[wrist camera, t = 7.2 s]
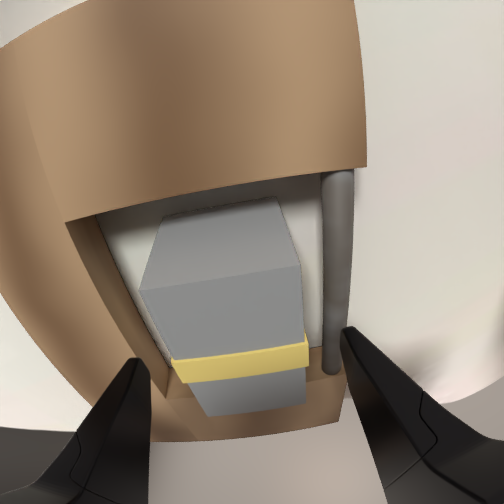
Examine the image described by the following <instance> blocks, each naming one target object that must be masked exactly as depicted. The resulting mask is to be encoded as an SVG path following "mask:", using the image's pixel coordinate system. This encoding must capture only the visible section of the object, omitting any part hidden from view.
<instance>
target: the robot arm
mask: <svg viewBox="0 0 504 504" xmlns="http://www.w3.org/2000/svg"><path fill="white" fill-rule="evenodd" d="M339 346H340V352H341V356H342V360H343V364H344V369H345V373H346V377H347V382H348V386H349V390H350V393H351V396H352V398H353V401H354V404H355V406H356V409H357V412H358V415H359V418H360V421H361V424H362V426H363V429H364V432H365V435H366V438H367V441H368V444H369V446H370V449H371V452H372V456H373V458H374V462H375V464H376V468H377V470H378V474H379V477H380V480H381V483H382V486H383V489H384V492H385V496H386V499H387V502H388V504H504V441H502V440H495V439H491V438H488V437H486V436H483V435H482V434H480V433H478V432H477V431H475V430H474V429H472V428H471V427H470V426H468V425H467V424H465V423H464V422H462V421H461V420H460V419H458V418H457V417H456V416H454V415H453V414H451V413H450V412H449V411H447V410H446V409H445V408H444V407H442V406H441V405H440V404H439V403H438V402H436V401H435V400H434V399H433V398H432V397H431V396H430V395H429V394H427V393H426V392H425V391H423V389H422V388H421V387H420V386H419V385H418V384H417V383H415V382H414V381H413V380H412V379H411V378H410V377H409V376H408V375H407V374H406V373H405V372H403V371H402V370H401V369H400V368H399V367H398V366H397V365H396V364H395V363H394V362H393V361H391V360H390V359H389V358H388V357H387V356H386V355H385V354H384V353H383V352H382V351H380V350H379V349H378V348H377V347H376V346H375V345H374V344H373V343H372V342H371V341H369V340H368V339H367V338H366V337H365V336H364V335H363V334H362V333H361V332H359V331H358V330H357V329H356V328H355V327H353V326H350V327H345V328H342V329H341V333H340V343H339ZM151 419H152V405H151V375H150V371H149V369H148V368H147V366H146V365H145V363H144V362H143V360H142V359H141V358H140V357H132V358H129V359H128V360H127V361H126V362H125V364H124V365H123V366H122V368H121V369H120V370H119V372H118V373H117V375H116V376H115V377H114V379H113V380H112V381H111V383H110V384H109V386H108V387H107V388H106V390H105V391H104V392H103V394H102V395H101V397H100V398H99V399H98V401H97V402H96V404H95V405H94V406H93V408H92V409H91V411H90V412H89V413H88V415H87V416H86V418H85V419H84V420H83V422H82V423H81V425H80V426H79V428H78V429H77V432H75V433H74V435H73V436H72V438H71V439H70V440H69V442H68V443H67V444H66V446H65V447H64V449H63V450H62V451H61V452H60V453H59V455H58V456H57V457H56V458H55V460H54V461H53V462H52V463H51V464H50V465H49V467H48V468H47V469H46V470H45V471H44V473H43V474H42V475H41V476H40V477H39V478H38V479H37V480H36V481H35V482H33V483H32V484H30V485H28V486H26V487H23V488H20V489H17V490H13V491H10V492H7V493H4V494H0V504H148V482H149V452H150V435H151Z"/></svg>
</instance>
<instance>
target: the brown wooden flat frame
mask: <svg viewBox="0 0 504 504" xmlns="http://www.w3.org/2000/svg"><path fill="white" fill-rule="evenodd" d="M363 167H367V142H366V112H365V95H364V81H363V69H362V58H361V49H360V41H359V33H358V25H357V18H356V12H355V5H354V0H87V1H85V2H83V3H81V4H78V5H76V6H74V7H72V8H70V9H68V10H66V11H64V12H62V13H60V14H58V15H56V16H54V17H52V18H50V19H48V20H46V21H44V22H42V23H41V24H39V25H37V26H35V27H34V28H32V29H30V30H29V31H27V32H25V33H24V34H22V35H20V36H19V37H17V38H16V39H14V40H13V41H11V42H9V43H8V44H6V45H5V46H4V47H2V48H1V49H0V293H1V295H2V296H3V298H4V299H5V301H6V302H7V304H8V305H9V307H10V308H11V310H12V311H13V313H14V314H15V316H16V317H17V319H18V320H19V321H20V323H21V324H22V326H23V327H24V328H25V330H26V331H27V332H28V334H29V335H30V336H31V338H32V339H33V340H34V342H35V343H36V344H37V345H38V347H39V348H40V349H41V351H42V352H43V353H44V354H45V355H46V357H47V358H48V359H49V360H50V361H51V363H52V364H53V365H54V366H55V367H56V368H57V370H58V371H59V372H60V373H61V374H62V375H63V376H64V378H65V379H66V380H67V381H68V382H69V383H70V384H71V385H72V386H73V387H74V388H75V389H76V390H77V392H78V393H79V394H80V395H81V396H82V397H83V398H84V399H85V400H86V401H87V402H88V403H89V404H90V405H91V406H92V407H93V406H94V405H95V404H96V402H97V401H98V399H99V398H100V397H101V395H102V394H103V392H104V391H105V390H106V388H107V387H108V386H109V384H110V383H111V381H112V380H113V379H114V377H115V376H116V375H117V373H118V372H119V370H120V369H121V368H122V366H123V365H124V364H125V362H126V361H127V360H128V359H129V358H132V357H140V358H141V359H142V360H143V362H144V363H145V365H146V366H147V368H148V369H149V371H150V375H151V405H152V419H151V435H150V442H191V441H210V440H211V441H212V440H225V439H236V438H245V437H255V436H262V435H269V434H277V433H283V432H289V431H295V430H300V429H306V428H311V427H316V426H321V425H325V424H330V423H334V422H338V421H339V417H340V412H341V407H342V402H343V398H344V393H345V388H346V383H347V377H346V373H345V369H344V364H343V360H342V356H341V352H340V346H339V343H340V333H341V329H342V328H345V327H347V317H348V306H349V295H350V282H351V267H352V249H353V221H354V168H363ZM318 172H320V174H321V194H322V219H323V339H322V346H320V347H315V348H310V349H309V366H307V367H305V372H306V404H300V405H295V406H289V407H284V408H277V409H271V410H264V411H257V412H250V413H241V414H232V415H223V416H211V417H208V416H207V415H206V413H205V412H204V410H203V408H202V407H201V405H200V404H199V402H198V400H197V399H196V397H195V395H194V394H193V392H192V390H191V389H190V387H189V385H188V384H187V383H182V381H181V380H180V378H179V376H178V374H177V373H176V371H175V369H174V368H169V367H168V365H167V364H166V362H165V360H164V359H163V357H162V355H161V353H160V352H159V350H158V348H157V346H156V344H155V343H154V341H153V339H152V337H151V335H150V334H149V332H148V330H147V328H146V326H145V324H144V322H143V320H142V318H141V317H140V315H139V313H138V311H137V309H136V307H135V305H134V303H133V301H132V299H131V297H130V295H129V293H128V291H127V288H126V286H125V284H124V282H123V280H122V278H121V276H120V274H119V271H118V269H117V267H116V265H115V263H114V260H113V258H112V256H111V254H110V251H109V249H108V247H107V244H106V242H105V240H104V237H103V235H102V232H101V230H100V227H99V225H98V222H97V220H96V217H95V215H94V214H98V213H102V212H106V211H110V210H115V209H119V208H123V207H127V206H132V205H136V204H140V203H145V202H149V201H154V200H159V199H163V198H168V197H173V196H178V195H183V194H188V193H193V192H198V191H203V190H209V189H214V188H220V187H225V186H231V185H237V184H243V183H249V182H255V181H261V180H268V179H275V178H281V177H288V176H295V175H303V174H310V173H318Z"/></svg>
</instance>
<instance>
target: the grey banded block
mask: <svg viewBox="0 0 504 504" xmlns="http://www.w3.org/2000/svg"><path fill="white" fill-rule="evenodd" d="M139 292H140V294H141V297H142V299H143V301H144V303H145V305H146V307H147V309H148V311H149V313H150V315H151V317H152V319H153V321H154V323H155V325H156V327H157V329H158V331H159V333H160V335H161V337H162V339H163V341H164V342H165V344H166V346H167V348H168V350H169V352H170V354H171V355H172V358H171V364H172V366H173V368H174V369H175V371H176V373H177V374H178V376H179V378H180V380H181V381H182V383H187V384H188V385H189V387H190V389H191V390H192V392H193V394H194V395H195V397H196V399H197V400H198V402H199V404H200V405H201V407H202V408H203V410H204V412H205V413H206V415H207V416H208V417H211V416H223V415H232V414H241V413H250V412H257V411H264V410H271V409H277V408H284V407H289V406H295V405H300V404H306V372H305V367H307V366H309V344H308V340H307V336H306V333H305V329H304V317H303V297H302V280H301V264H300V262H299V259H298V256H297V253H296V250H295V248H294V245H293V242H292V239H291V236H290V234H289V231H288V228H287V225H286V223H285V220H284V217H283V214H282V212H281V209H280V206H279V204H278V201H277V198H276V197H270V198H264V199H258V200H252V201H246V202H240V203H234V204H228V205H223V206H217V207H212V208H206V209H201V210H195V211H190V212H185V213H180V214H175V215H170V216H165V217H163V218H162V221H161V224H160V227H159V230H158V232H157V235H156V238H155V241H154V244H153V247H152V250H151V253H150V256H149V259H148V262H147V265H146V269H145V272H144V275H143V278H142V281H141V285H140V288H139Z"/></svg>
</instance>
